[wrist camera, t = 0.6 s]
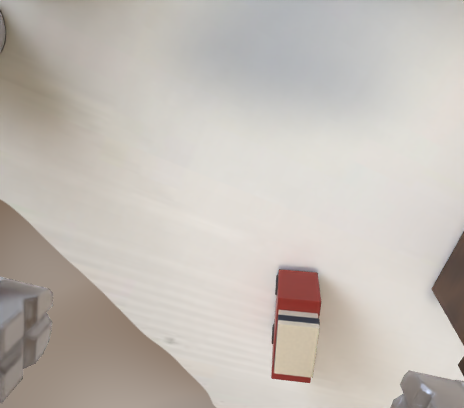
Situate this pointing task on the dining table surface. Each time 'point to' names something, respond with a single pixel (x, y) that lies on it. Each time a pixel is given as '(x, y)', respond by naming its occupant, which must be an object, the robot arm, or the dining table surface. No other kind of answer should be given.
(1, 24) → the mug
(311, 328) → the car
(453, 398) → the robot arm
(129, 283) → the dining table surface
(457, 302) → the cabinet
